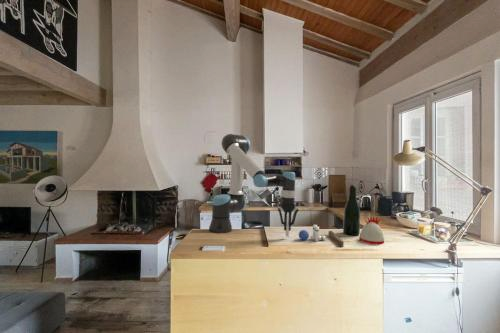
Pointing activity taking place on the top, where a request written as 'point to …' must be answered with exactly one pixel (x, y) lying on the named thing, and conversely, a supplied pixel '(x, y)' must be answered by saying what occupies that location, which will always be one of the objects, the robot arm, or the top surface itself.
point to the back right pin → (316, 234)
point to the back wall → (336, 238)
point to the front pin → (319, 237)
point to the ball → (303, 235)
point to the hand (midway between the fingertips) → (287, 235)
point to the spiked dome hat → (372, 232)
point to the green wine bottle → (351, 214)
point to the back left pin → (314, 229)
